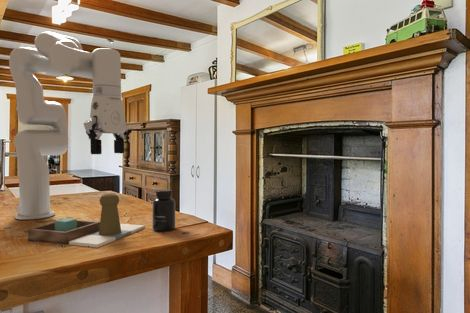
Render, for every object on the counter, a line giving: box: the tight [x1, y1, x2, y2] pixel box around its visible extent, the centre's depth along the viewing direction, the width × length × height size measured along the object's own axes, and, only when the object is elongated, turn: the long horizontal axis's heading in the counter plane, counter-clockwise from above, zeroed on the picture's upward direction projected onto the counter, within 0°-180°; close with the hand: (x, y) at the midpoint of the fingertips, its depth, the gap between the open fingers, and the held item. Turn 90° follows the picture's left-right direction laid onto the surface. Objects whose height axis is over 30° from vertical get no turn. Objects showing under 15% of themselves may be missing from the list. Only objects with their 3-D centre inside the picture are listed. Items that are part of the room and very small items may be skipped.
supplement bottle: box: [152, 188, 176, 233], centre depth 104 cm, size 7×7×12 cm
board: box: [68, 223, 146, 249], centre depth 97 cm, size 9×21×1 cm, turn 161°
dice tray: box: [27, 219, 100, 245], centre depth 97 cm, size 13×13×3 cm
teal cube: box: [54, 217, 78, 232], centre depth 97 cm, size 4×4×4 cm
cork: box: [99, 193, 121, 235], centre depth 97 cm, size 6×6×11 cm
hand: (108, 153), depth 98 cm, fingers open, 9 cm apart
